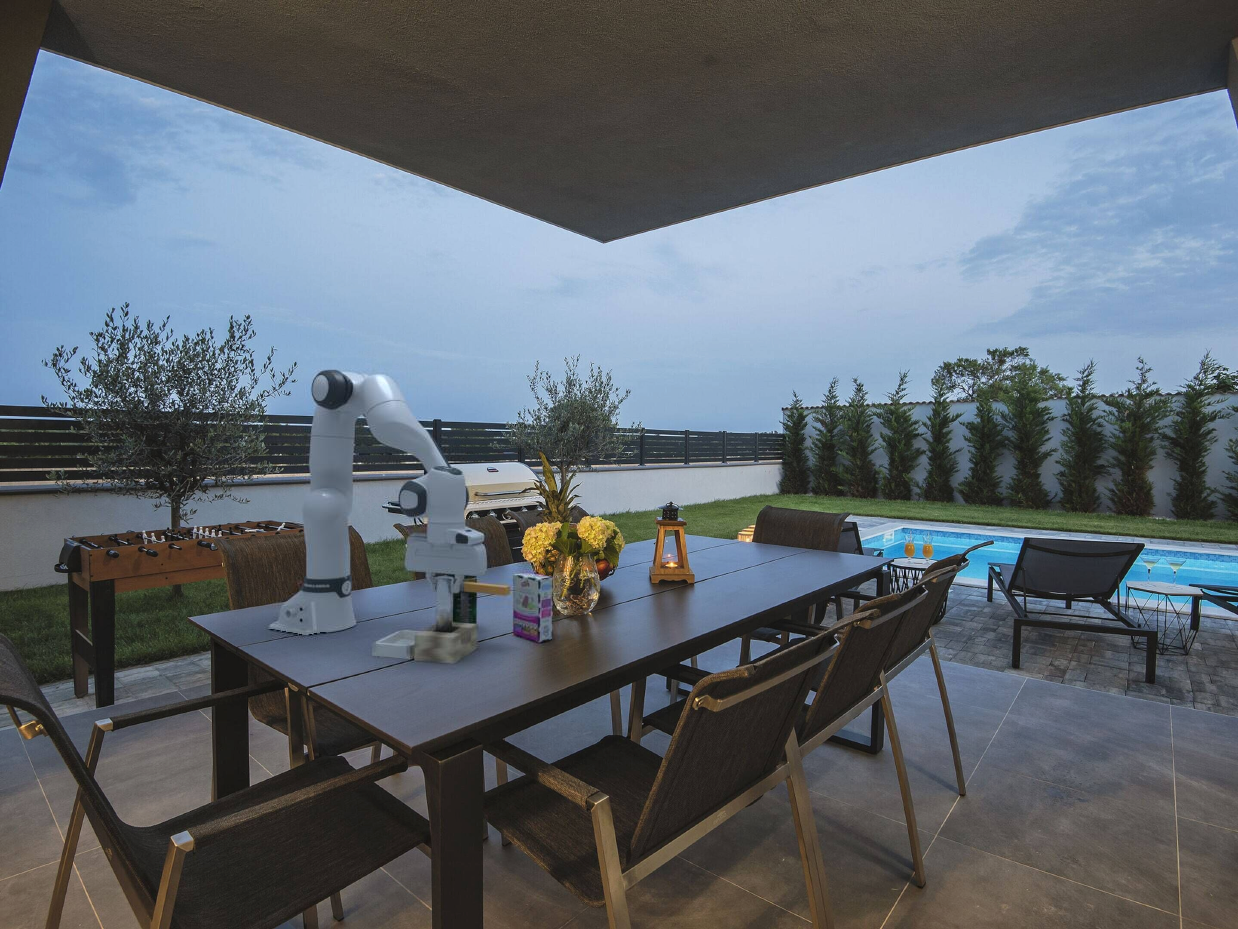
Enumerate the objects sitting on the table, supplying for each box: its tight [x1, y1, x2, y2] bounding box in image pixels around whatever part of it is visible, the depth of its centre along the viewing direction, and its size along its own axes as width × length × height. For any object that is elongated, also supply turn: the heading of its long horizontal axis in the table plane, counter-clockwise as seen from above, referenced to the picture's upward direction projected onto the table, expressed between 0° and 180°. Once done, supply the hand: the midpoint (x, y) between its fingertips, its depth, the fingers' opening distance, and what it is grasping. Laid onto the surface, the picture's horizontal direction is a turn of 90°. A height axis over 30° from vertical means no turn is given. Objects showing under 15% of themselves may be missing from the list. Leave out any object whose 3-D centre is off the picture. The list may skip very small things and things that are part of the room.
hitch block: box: [414, 591, 478, 665], centre depth 149 cm, size 10×17×13 cm, turn 167°
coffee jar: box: [446, 574, 478, 625], centre depth 167 cm, size 10×8×19 cm
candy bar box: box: [512, 572, 554, 644], centre depth 161 cm, size 11×5×16 cm, turn 47°
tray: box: [371, 629, 422, 660], centre depth 150 cm, size 10×12×3 cm
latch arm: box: [460, 582, 511, 597], centre depth 153 cm, size 2×14×2 cm, turn 67°
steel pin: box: [434, 576, 454, 633], centre depth 147 cm, size 4×4×13 cm
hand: (444, 591), depth 147 cm, fingers closed on steel pin, 4 cm apart
